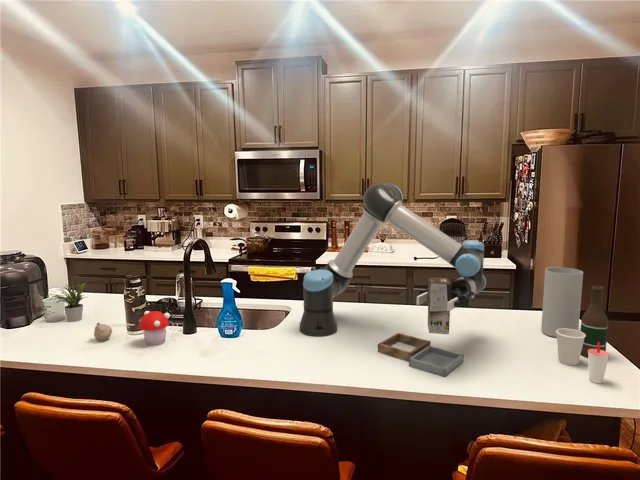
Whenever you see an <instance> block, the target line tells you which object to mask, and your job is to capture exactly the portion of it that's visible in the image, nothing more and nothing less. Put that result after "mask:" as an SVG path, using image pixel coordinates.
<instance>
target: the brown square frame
mask: <svg viewBox="0 0 640 480" xmlns="http://www.w3.org/2000/svg"><path fill="white" fill-rule="evenodd" d="M398 343H401V344H405V345H409V346H413V347H415V348H414V349H412V350H411V351H409V350H405V349H401V348H398V347H394V346H395V345H397V344H398ZM428 346H431V340H427V339H423V338H420V337H416V336H412V335H408V334H404V333H400V332H396V334H395V333H394V335H392V336H390V337H388V338H386V339H384V340H382V341H380V342H379V343H377V353H379V354H383V355H385V356H389V357H393V358H396V359H399V360H403V361H406V362H409V358H411V357H413V356H414V355H416V354H417V353H419V352H420V351H422V350H423V349H425V348H426V347H428Z"/></svg>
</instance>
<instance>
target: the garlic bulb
mask: <svg viewBox="0 0 640 480" xmlns="http://www.w3.org/2000/svg"><path fill="white" fill-rule="evenodd" d="M112 333H113V329H112V327H111V326H110V325H107V324H105V323H101V322H97V323H96V324H95V327H94V332H93V337H94V339H96V340H98V341H100V342H101V341H102V342H104V341H107V340H108V339H109V338H110V337H112Z"/></svg>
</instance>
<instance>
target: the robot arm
mask: <svg viewBox="0 0 640 480" xmlns="http://www.w3.org/2000/svg"><path fill="white" fill-rule="evenodd" d="M362 201H363V204H364V205H363V206H362V211H363V213H362V214H361V216H360V218H359V219H358V221H357V223H356V225H354V227H353V229H352V231H351V233H350V235H348V237H347V239H346V241H344V244H343V245H342V247H341V249H340V250H339V251H338V253H337V255H336V256H335V258H334V259H330V260H329V261H328V262H327V264H326V266H325V267H324V269H314V270H310V271H307V272H306V273H305V274H304V276H303V282H302V287H303V313H302V317H301V318H300V319H301V320H300V323H299V333H301V334H304V335H306V336H309V337H310V336H311V337H312V336H313V337H324V336H330V335H333V334H335V333H337V331H338V322H337V321H336V316H335V313H334V306H333V305H334V298H336V297H337V296H338V295H341V294H343V293H344V292H346V290H347V288H349V286H350V282H351V279H352V278H353V270H354V268H355V266H356V264H357V263H358V262H359V260H360V258H362V256H363V254H364V252H365V251H366V249H367V248H368V247H369V245H370V243H371V242H372V240H373V239H374V237H375V236H376V235H377V233H378V231H379V230H380V228H381V226H383V225H385V224H388V223H389V224H391V225H393V226H394V227H395V228H396V229H398V230H400V231H401V232H403V233H404V234H406V235H407V236H409V237H411V239H412V240H414V241H416V242H417V243H419V244H420V245H422V246H423V247H424V248H426V249H427V250H429V251H431V252H432V253H433V254H434V255H436V256H438V257H439V258H441V259H442V260H443V261H445V262H446V263H448V264H449V265H451V266H452V267H453V268H454V269H455V270H456V271H457V273H458V274H459V275H460V277H459V278H457V279H454V280H453V281H450V283H451V299H450V301H448V302H447V311H450V312H451V311H452V310H454V309H455V308H459V307H463V306H464V307H466V308H469V307H470V305H471V303H472V301H474V300H475V295H477V294H479V293H481V292H482V291H483V290H485V288H486V286H487V279H486V276H485V275H484V262H485V261H484V259H485V258H484V257H485V244H484V243H483V242H481V241H473V240H469V241H468V240H467V241H464V242H463V243H462V244H461V243H459V242H458V241H456V240H455V239H453V238H452V237H450V236H449V235H447V234H446V233H444V232H443V231H441V230H440V229H438V228H437V227H435V226H434V225H432V224H431V223H429V222H428V221H426V220H425V219H424V218H422V217H420V216H419V215H417V214H416V213H414V212H413V211H411V210H410V209H408V208H407V207H406V206H404V205H403V202H404V196H403V193H402V190H401V189H400V188H399V187H398V186H396V185H395V184H392V183H389V182H384V183H374V184H373V185H370V186H369V187H368V188H367V189H366V191H365V192H364V195H363V200H362ZM427 302H428V288H424V289H420V290H419V295H418V296H416V305H417V306H419V305H421V304H424V303H427Z"/></svg>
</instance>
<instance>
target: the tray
mask: <svg viewBox="0 0 640 480" xmlns="http://www.w3.org/2000/svg"><path fill="white" fill-rule="evenodd" d="M464 356H465V355H464V354H462V353H459V352H455V351H451V350H447V349H443V348H441V347H436V346H432V345H430V346H428V347H426V348H425V349H423V350H422V351H420V352H419V353H417V354H416V355H414V356H413V357H411V358H409V361H408V367H410V368H414V369H418V370H420V371H424V372H426V373H430V374H433V375H438V376H440V377H444V378H446V377H447V376H448V375H450V373H452V372H453V371H454V370H456V369H457V368H458V367H459V366H460V365H462V364H463V363H464V358H465V357H464Z"/></svg>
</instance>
